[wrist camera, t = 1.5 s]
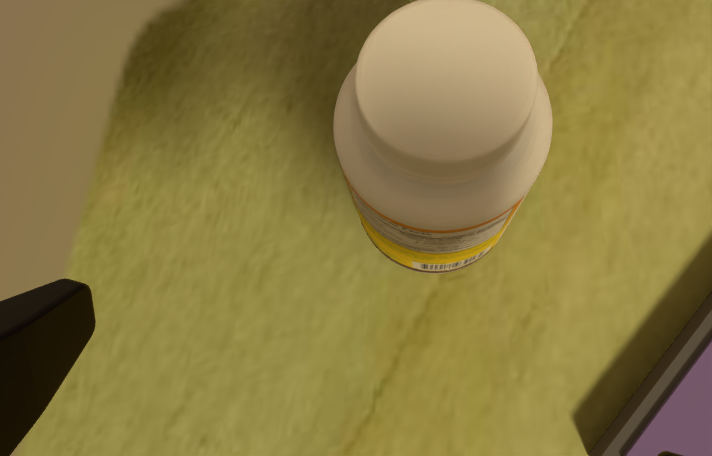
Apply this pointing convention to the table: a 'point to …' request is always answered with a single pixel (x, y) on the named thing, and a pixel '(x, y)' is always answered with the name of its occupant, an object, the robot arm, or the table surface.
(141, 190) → the table surface
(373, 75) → the supplement bottle
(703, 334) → the ink pad
